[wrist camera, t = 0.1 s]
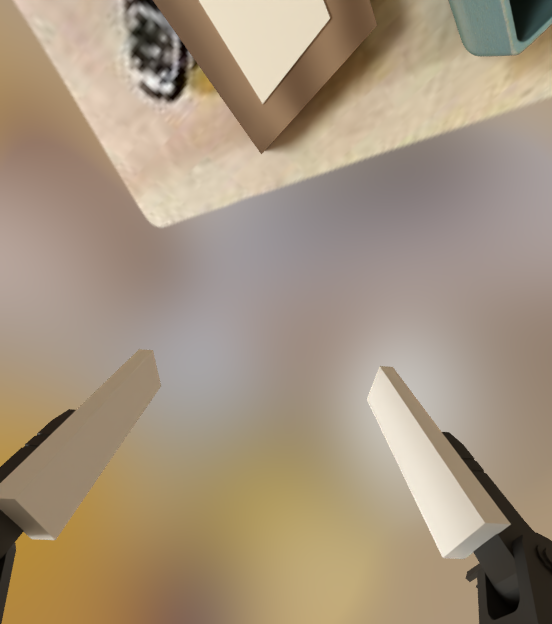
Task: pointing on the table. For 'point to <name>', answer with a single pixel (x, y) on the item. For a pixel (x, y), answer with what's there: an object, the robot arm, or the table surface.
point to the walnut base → (269, 52)
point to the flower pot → (500, 24)
